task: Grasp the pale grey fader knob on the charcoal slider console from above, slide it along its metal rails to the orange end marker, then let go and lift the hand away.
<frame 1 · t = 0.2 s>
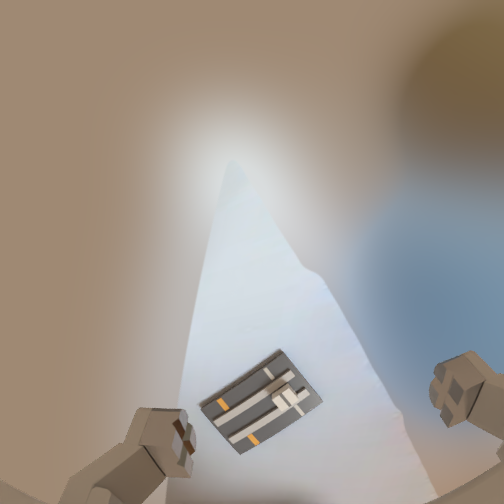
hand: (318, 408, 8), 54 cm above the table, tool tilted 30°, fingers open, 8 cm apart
fader knob: (284, 396, 52), point 5 cm above the table, slide at -6.0 cm
slider console: (261, 405, 57), on the table
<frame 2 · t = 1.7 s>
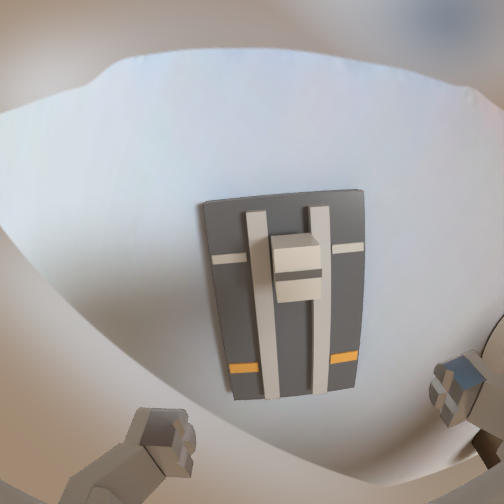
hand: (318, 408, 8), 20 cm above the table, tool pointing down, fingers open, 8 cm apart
fader knob: (294, 263, 23), point 5 cm above the table, slide at -6.0 cm
slider console: (290, 304, 29), on the table
pillar candle: (487, 429, 39), on the table
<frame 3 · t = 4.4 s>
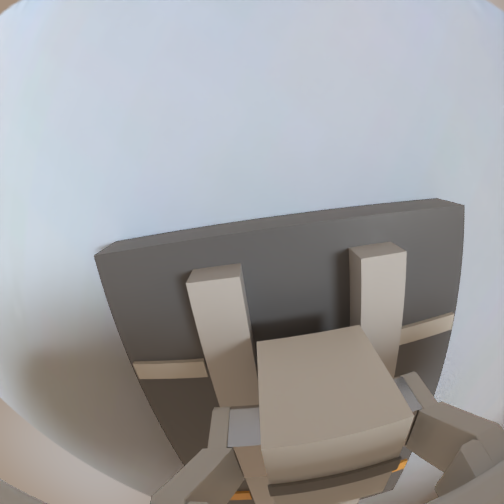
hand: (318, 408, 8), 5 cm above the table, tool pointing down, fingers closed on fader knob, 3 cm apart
fader knob: (319, 410, 8), point 5 cm above the table, slide at -6.0 cm, touching gripper
slider console: (302, 415, 14), on the table
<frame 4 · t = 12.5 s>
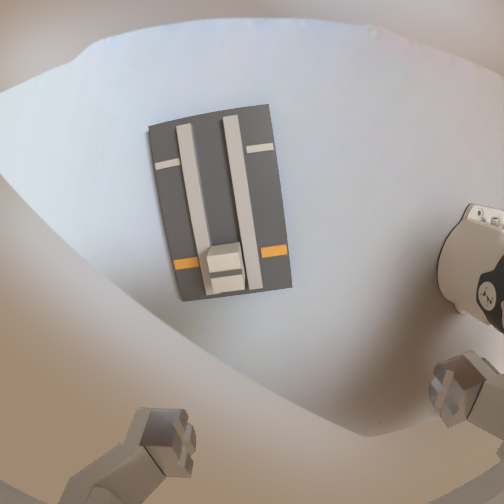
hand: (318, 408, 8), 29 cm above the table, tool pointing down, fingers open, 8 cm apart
fader knob: (227, 264, 32), point 5 cm above the table, slide at 6.0 cm
slider console: (222, 204, 35), on the table
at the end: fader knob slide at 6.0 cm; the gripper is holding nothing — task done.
